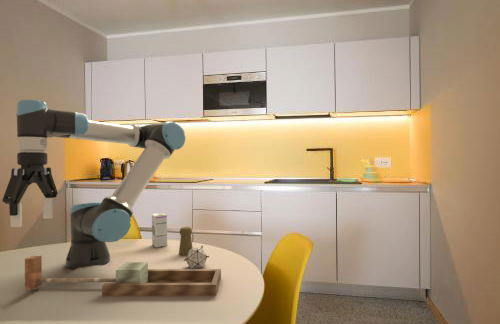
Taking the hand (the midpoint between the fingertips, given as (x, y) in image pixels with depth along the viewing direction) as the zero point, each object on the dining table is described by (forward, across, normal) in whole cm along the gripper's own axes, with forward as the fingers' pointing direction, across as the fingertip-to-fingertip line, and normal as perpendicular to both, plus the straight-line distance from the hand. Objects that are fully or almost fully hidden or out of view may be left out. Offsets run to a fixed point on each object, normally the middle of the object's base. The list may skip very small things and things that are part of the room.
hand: (33, 222), depth 95 cm
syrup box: (+21, +51, -23) cm, 60 cm away
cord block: (+19, 0, -16) cm, 25 cm away
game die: (+21, +18, -46) cm, 53 cm away
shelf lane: (+20, 0, -40) cm, 45 cm away
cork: (+21, +38, -38) cm, 57 cm away
